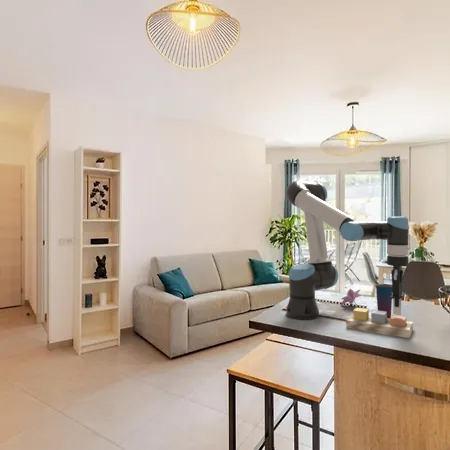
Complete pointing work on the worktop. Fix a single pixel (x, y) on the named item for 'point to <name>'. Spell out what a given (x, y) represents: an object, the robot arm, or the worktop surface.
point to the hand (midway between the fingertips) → (397, 314)
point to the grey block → (379, 316)
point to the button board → (380, 327)
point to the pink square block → (398, 321)
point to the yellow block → (361, 314)
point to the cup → (384, 298)
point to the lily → (350, 296)
